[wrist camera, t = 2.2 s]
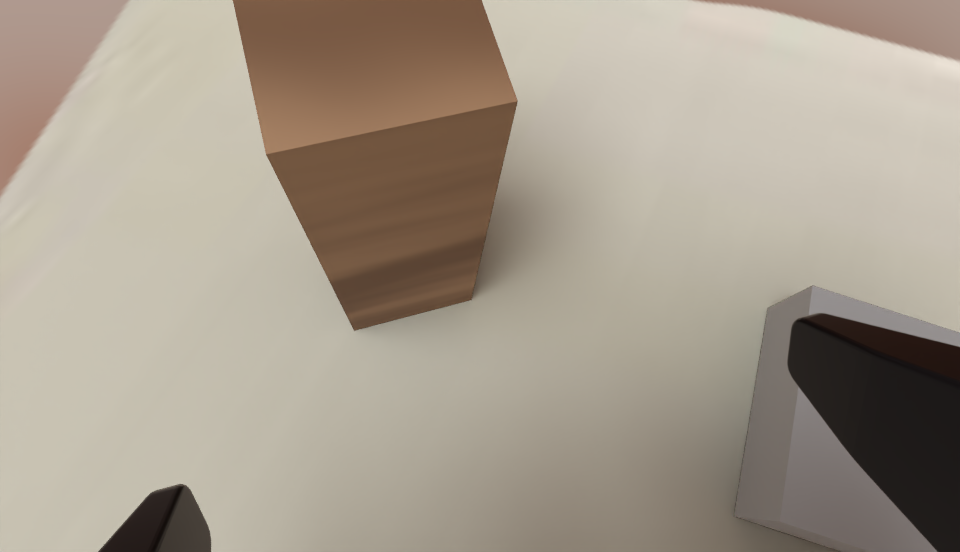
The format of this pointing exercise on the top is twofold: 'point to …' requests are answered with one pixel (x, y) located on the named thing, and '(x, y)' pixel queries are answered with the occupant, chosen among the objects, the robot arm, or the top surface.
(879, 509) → the plinth
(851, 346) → the robot arm
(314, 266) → the top surface
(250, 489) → the top surface
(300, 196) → the walnut block
